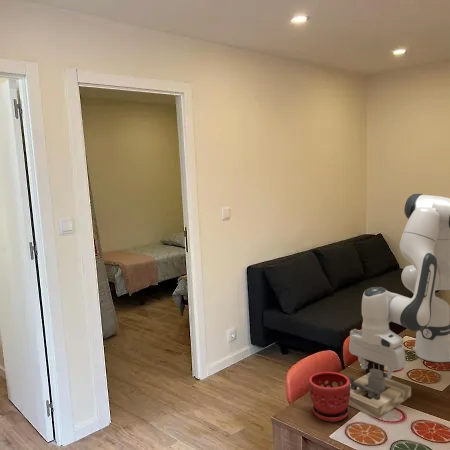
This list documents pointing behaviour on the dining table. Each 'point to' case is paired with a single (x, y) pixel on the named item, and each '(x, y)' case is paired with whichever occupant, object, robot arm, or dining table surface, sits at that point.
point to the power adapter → (376, 381)
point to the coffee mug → (370, 366)
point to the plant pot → (330, 396)
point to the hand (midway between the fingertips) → (376, 373)
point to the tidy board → (377, 396)
